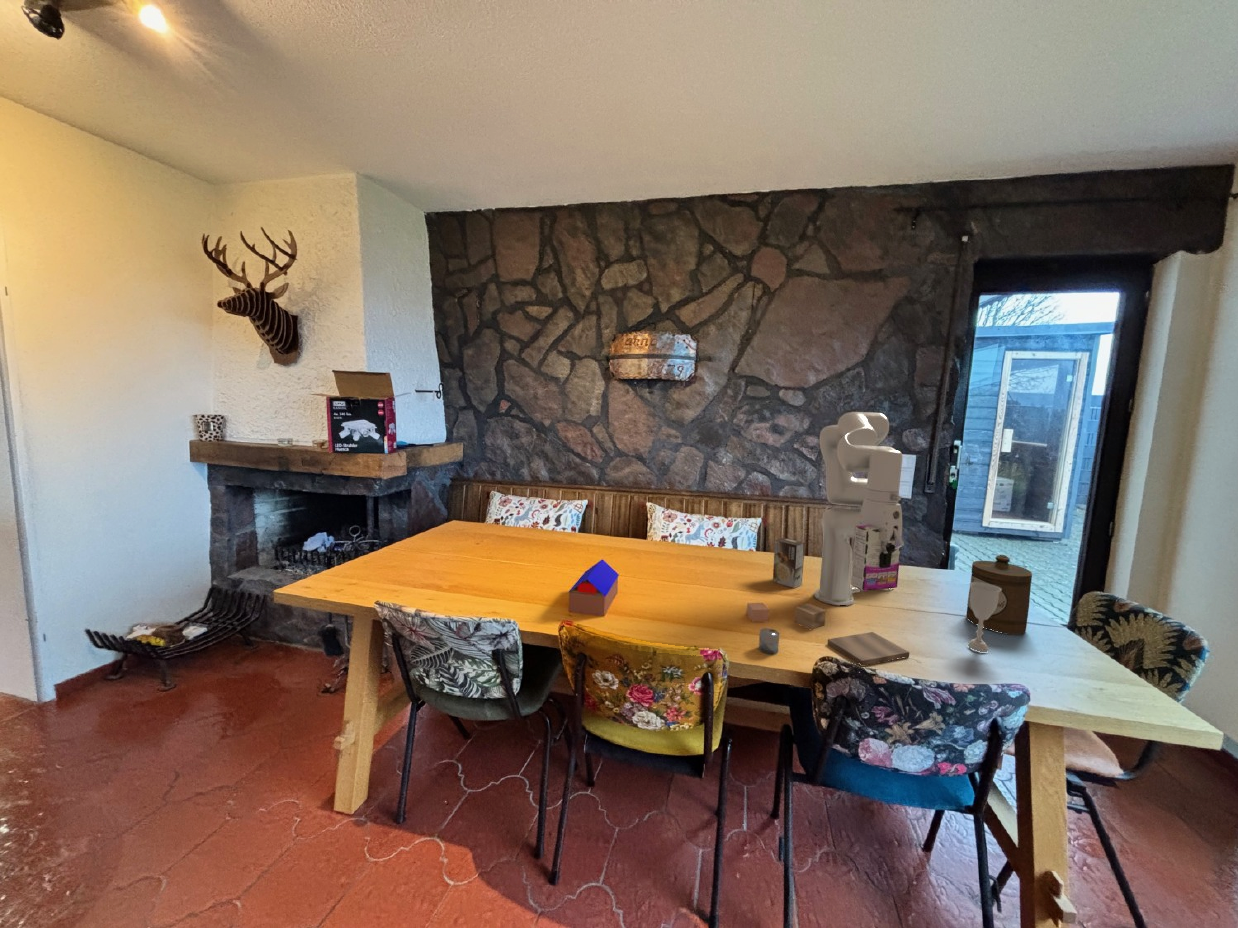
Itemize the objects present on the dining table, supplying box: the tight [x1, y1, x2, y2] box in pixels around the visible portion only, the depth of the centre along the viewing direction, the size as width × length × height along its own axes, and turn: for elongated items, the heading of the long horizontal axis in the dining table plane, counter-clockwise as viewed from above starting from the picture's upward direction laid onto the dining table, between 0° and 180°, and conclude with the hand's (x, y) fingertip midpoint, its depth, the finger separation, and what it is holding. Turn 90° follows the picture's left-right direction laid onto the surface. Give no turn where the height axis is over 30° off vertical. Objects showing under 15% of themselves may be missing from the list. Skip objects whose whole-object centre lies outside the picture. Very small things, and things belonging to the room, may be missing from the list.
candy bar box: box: [850, 526, 902, 592], centre depth 130 cm, size 11×5×16 cm, turn 106°
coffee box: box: [772, 537, 806, 589], centre depth 182 cm, size 9×6×16 cm
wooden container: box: [965, 554, 1033, 635], centre depth 151 cm, size 15×15×22 cm
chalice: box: [967, 582, 1002, 652], centre depth 135 cm, size 7×7×18 cm
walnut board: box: [827, 631, 910, 666], centre depth 133 cm, size 16×12×2 cm
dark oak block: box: [794, 603, 827, 631], centre depth 149 cm, size 6×6×5 cm
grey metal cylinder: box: [758, 627, 780, 656], centre depth 132 cm, size 5×5×5 cm
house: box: [567, 558, 620, 617], centre depth 160 cm, size 12×20×12 cm, turn 168°
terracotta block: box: [746, 602, 770, 623], centre depth 152 cm, size 5×5×4 cm
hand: (875, 563), depth 130 cm, fingers closed on candy bar box, 5 cm apart
